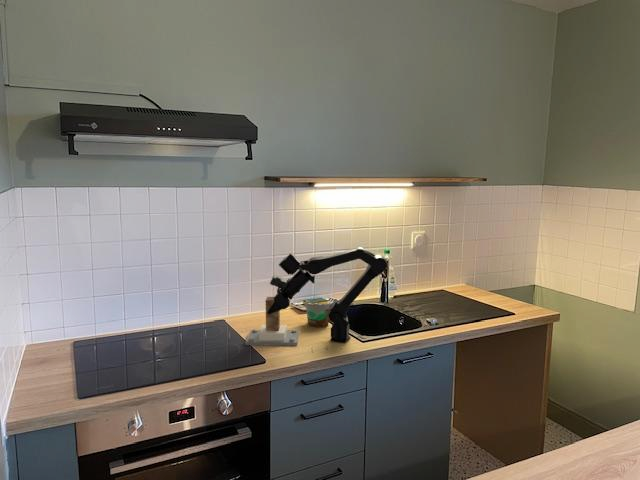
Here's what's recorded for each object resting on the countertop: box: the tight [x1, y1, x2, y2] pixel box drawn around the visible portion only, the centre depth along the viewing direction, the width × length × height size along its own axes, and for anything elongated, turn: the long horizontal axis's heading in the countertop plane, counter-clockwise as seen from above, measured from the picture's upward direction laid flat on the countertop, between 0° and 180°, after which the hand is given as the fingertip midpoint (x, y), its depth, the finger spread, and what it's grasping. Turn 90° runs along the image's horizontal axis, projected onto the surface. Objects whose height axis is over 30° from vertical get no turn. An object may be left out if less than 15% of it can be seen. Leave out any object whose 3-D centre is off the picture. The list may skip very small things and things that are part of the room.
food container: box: [304, 299, 331, 328], centre depth 215 cm, size 12×6×10 cm, turn 62°
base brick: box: [244, 324, 300, 346], centre depth 199 cm, size 20×14×4 cm
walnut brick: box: [265, 296, 281, 331], centre depth 197 cm, size 5×5×12 cm
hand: (269, 309), depth 197 cm, fingers open, 9 cm apart
